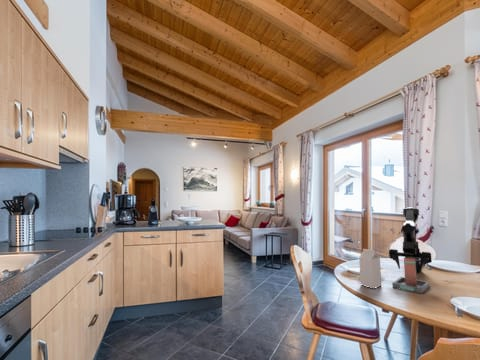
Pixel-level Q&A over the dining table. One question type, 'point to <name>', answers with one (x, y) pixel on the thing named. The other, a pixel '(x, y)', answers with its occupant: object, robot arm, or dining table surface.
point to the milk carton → (370, 268)
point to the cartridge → (410, 271)
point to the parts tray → (420, 288)
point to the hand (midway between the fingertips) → (409, 269)
